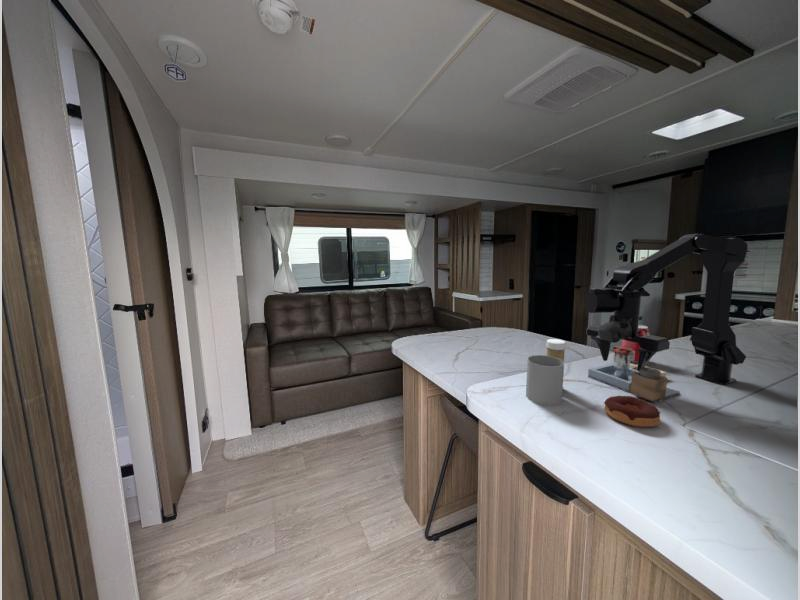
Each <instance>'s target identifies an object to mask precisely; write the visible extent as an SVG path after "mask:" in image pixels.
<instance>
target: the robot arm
mask: <svg viewBox="0 0 800 600" xmlns="http://www.w3.org/2000/svg"><path fill="white" fill-rule="evenodd" d="M748 249H749V248H748V242H746V241H744V239H742V238H740V237H721V236H713V235H708V234H704V233H690V234H684V235H682V236H681V237H680V238H678V239H677V240H676V241H674V242H672V243H670V244H669V245H667V246H665V247H663V248H661V249H659V250H658V251H656V252H654V253H652V254H651V255H649V256H647V257H646V258H644V259H641V260H638V261H633V262H631V263H630V262H629V263H627V264H625V265H621V266H619V267H617V268H616V269H615V270H614V271H613V274H612V277H610V278H609V280H608V281H607V282H606V283H605V285H604V286H603V287H602V288H594V287H591V288H590V289H589V292H588V293H587V294H586V296H585V298H584V309H585V310H586V312H588V313H589V314H596V313H597V314H600V313H601V314H605V313H606V314H607V313H609V314H610V313H613V314H610V317H609V321H608V322H605V323H603V324H599V323H598V324H594V325H592V324H591V325H589V326H587V327H586V332H585V333H586V336H588V337H589V338H590V339H591V340H594V342H596V344H597V346H598V348H599V351H600V355H601V358H602V360H603V361H604V362H606V361H608V358H609V355H610V349H611V343H614V344H615V343H618V342H620V341H621V340H622V339H623V340H627V341H631V342H635V343H639V346H640V347H641V348H639V349H637V350H638V352H639V360H638V363H637V365H638V372H639V371H640V368H643V367H645V366H647V364H648V363H649V361H650V360H651V359H652V358H653V356H654V355H655V354H656V353H659V352H662V351H665V350H666V351H667V350H669V349H670V344H671V342H670V341H669V339H668V338H667V337H662V336H657V335H653V334H650V336H645V337H641V336H637V335H639V334H640V333H641V331H639V330H638V325H640V321H642V320H643V316H642V315H640V313H641V305H642V303H641V302H642V297H650V296H651V294H650V293H649V291H646V289H645V288H644V287H646V285H648V284H649V283H651V282H652V281H653V280H654V279H655V276H656V275H657V274H658V273H659V272H660V271H662V270H664V269H666V268H668V267H670V266H671V265H673V264H674V263H676V262H678V261H680V260H681V259H684V258H685V257H687V256H689V255H691V254H698V255H699V256H700V262H701V264H702V265H703V267H704V268H705V270H706V273H707V274H706V284H705V293H704V294H705V295H704V303H703V314H702V322H700V324H699V325H698V326H697V327H694V326H693V327H691V329H690V332H691V335H690V338H689V341H690V342H691V345H692V346H693V349H694V351H695V354H696V355H700V356H703V360H702V366H701V367H702V368H701V372H700V373H696V374H694V375H695V376H694V377H695V378H699V379H702V380H706V381H710V382H712V383H713V382H714V383H717V384H721V385H725V386H726V385H728V384H732V383H735V382H737V379H736V378H734V377H732V371H733V365H736V366H737V365H739V364H744V362H745V360H746V359H747V356H746V354H745V353H743V351H742V350H741V349H740V348H739V347H738V346H737V337H736V334H735V332H734V331H733V328H731V325H730V323H729V321H730V312H731V305H732V294H733V287H734V285H733V284H734V277H735V271H736V270H737V269H739V267H740V266H741V265H742V264H743V263H744V262H745V259H746V256H747V252H748ZM629 337H630V338H629Z"/></svg>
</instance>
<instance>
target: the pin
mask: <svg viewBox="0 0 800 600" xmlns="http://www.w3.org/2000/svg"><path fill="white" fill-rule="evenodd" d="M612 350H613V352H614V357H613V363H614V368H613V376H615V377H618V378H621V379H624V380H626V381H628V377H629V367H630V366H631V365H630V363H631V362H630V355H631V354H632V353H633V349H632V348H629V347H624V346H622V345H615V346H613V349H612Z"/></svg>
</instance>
